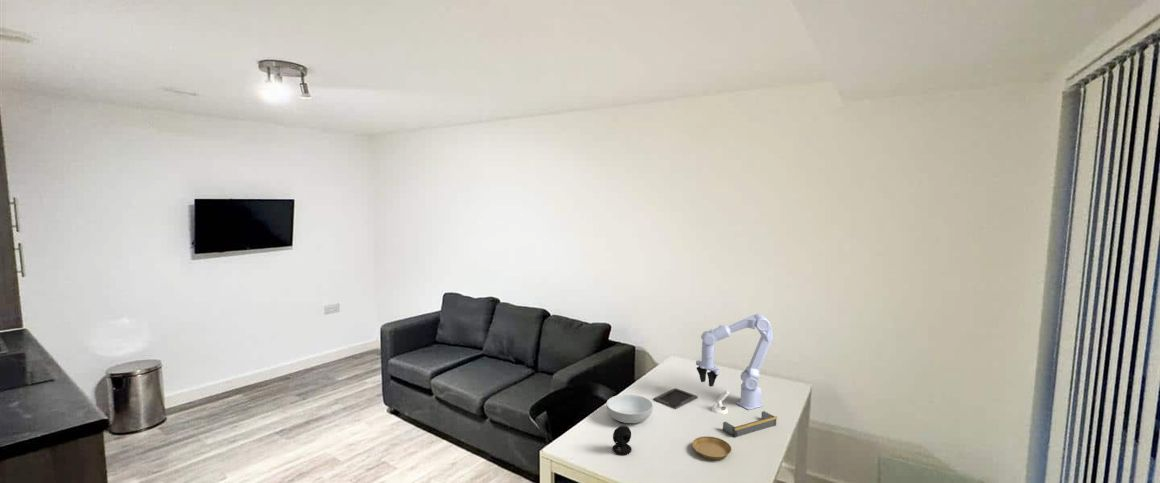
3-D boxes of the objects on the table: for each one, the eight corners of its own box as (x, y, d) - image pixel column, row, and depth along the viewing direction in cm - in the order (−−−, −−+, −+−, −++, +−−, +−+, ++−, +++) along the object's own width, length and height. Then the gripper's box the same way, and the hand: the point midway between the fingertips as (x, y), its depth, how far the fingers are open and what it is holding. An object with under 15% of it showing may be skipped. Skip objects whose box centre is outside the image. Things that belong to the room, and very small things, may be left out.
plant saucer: (725, 467, 170) (725, 460, 170) (686, 455, 178) (686, 449, 178) (735, 449, 183) (735, 442, 182) (698, 438, 191) (698, 432, 190)
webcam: (617, 457, 176) (617, 432, 175) (608, 448, 183) (608, 423, 182) (635, 453, 179) (635, 428, 179) (626, 443, 186) (626, 420, 185)
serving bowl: (658, 412, 214) (658, 398, 213) (644, 433, 195) (644, 417, 194) (615, 404, 222) (615, 390, 222) (599, 423, 203) (599, 408, 203)
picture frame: (675, 410, 217) (697, 399, 229) (675, 406, 217) (697, 395, 229) (653, 401, 227) (675, 390, 239) (653, 397, 227) (675, 387, 239)
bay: (763, 418, 208) (764, 410, 207) (776, 425, 201) (777, 416, 201) (722, 430, 197) (723, 421, 197) (735, 438, 191) (735, 428, 190)
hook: (741, 403, 211) (730, 396, 209) (724, 422, 214) (713, 415, 212) (734, 393, 218) (724, 386, 217) (718, 411, 221) (707, 405, 219)
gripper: (691, 353, 227) (690, 380, 228) (711, 362, 214) (711, 391, 215) (702, 351, 230) (702, 377, 231) (723, 360, 217) (722, 388, 218)
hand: (707, 383), depth 223 cm, fingers open, 5 cm apart
